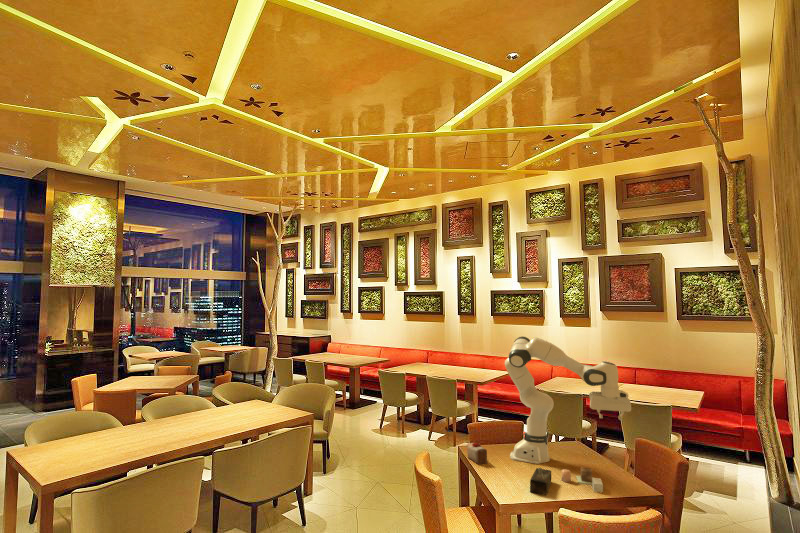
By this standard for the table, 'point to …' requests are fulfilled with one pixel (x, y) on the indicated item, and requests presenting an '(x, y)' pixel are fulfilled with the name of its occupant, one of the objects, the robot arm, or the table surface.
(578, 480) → the green tile
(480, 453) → the grey canister red cap
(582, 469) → the walnut cube
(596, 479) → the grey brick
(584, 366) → the robot arm
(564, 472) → the brown egg
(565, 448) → the table surface
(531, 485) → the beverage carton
